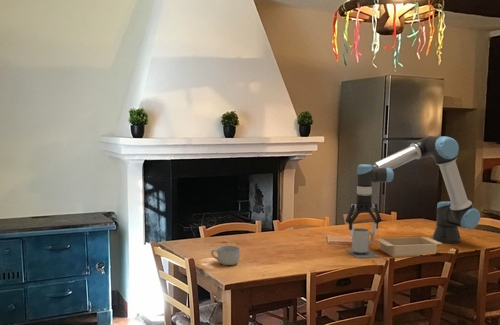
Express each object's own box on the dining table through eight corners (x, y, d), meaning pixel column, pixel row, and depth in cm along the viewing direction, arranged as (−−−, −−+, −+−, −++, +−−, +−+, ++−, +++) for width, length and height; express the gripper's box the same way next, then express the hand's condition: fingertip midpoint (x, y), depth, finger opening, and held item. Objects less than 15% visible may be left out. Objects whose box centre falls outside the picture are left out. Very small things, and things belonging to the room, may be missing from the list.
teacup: (240, 260, 234) (240, 244, 233) (240, 267, 223) (240, 250, 222) (211, 260, 233) (211, 244, 233) (210, 267, 222) (210, 250, 222)
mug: (357, 253, 242) (358, 232, 241) (348, 249, 250) (349, 228, 249) (377, 251, 246) (378, 230, 245) (367, 247, 254) (368, 227, 253)
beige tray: (426, 247, 263) (426, 236, 262) (443, 255, 246) (443, 243, 246) (373, 249, 257) (373, 238, 257) (387, 257, 241) (387, 246, 241)
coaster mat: (367, 249, 256) (367, 248, 256) (379, 257, 242) (379, 256, 242) (346, 250, 254) (346, 249, 254) (357, 258, 240) (357, 257, 240)
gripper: (382, 192, 251) (381, 233, 253) (339, 193, 247) (338, 234, 249) (389, 194, 244) (388, 236, 246) (344, 195, 240) (343, 238, 242)
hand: (363, 235), depth 247 cm, fingers closed on mug, 12 cm apart
